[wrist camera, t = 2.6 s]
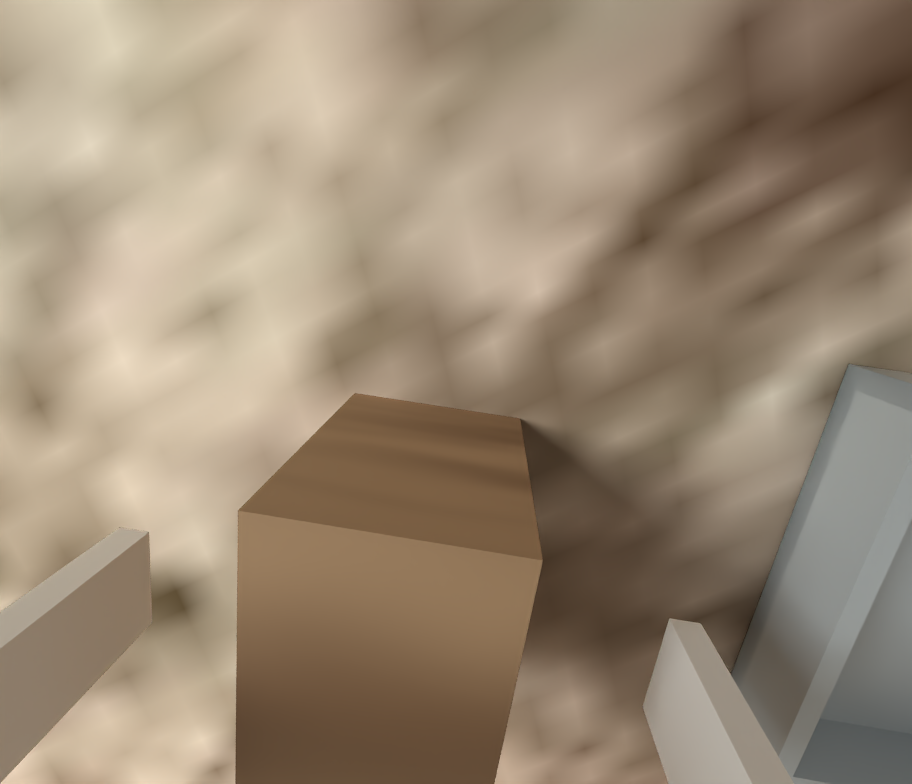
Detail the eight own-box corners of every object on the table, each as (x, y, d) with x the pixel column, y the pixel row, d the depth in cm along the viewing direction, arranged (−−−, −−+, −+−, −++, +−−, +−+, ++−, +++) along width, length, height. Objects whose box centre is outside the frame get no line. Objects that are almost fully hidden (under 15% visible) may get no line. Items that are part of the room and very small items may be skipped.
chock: (355, 392, 15) (238, 510, 8) (520, 418, 14) (543, 560, 8) (338, 610, 17) (234, 846, 10) (480, 634, 17) (471, 891, 10)
